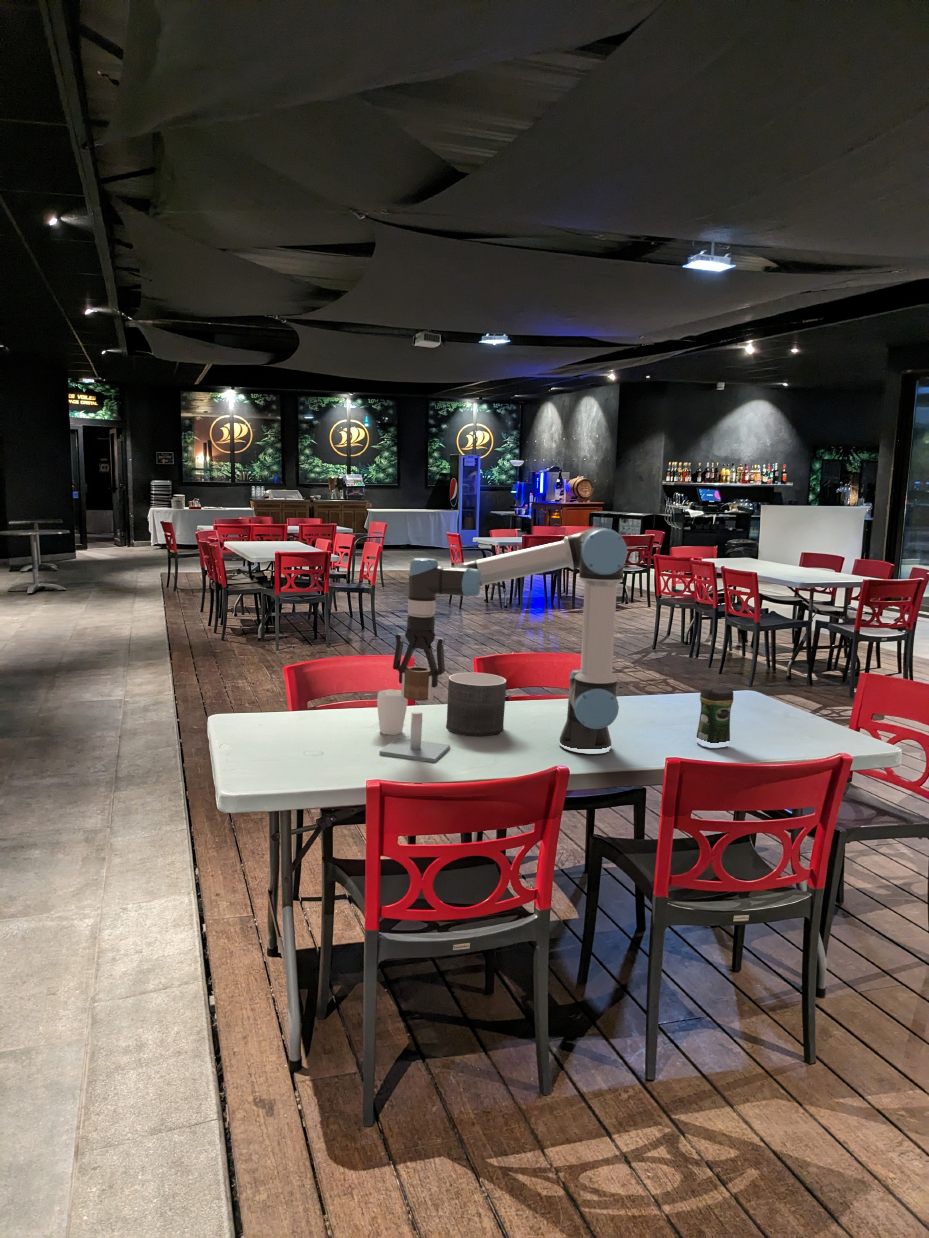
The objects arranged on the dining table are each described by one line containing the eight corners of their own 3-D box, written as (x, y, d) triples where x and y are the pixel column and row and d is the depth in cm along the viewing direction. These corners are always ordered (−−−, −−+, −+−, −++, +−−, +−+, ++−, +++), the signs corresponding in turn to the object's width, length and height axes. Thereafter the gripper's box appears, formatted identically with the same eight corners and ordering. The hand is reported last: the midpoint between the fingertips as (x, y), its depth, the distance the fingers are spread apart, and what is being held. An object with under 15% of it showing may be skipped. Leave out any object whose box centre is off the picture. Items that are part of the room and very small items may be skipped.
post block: (450, 748, 243) (451, 710, 241) (434, 762, 230) (436, 722, 228) (397, 740, 247) (398, 704, 246) (379, 754, 234) (380, 715, 232)
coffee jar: (717, 740, 264) (723, 682, 262) (733, 748, 257) (739, 688, 254) (690, 742, 261) (696, 683, 258) (706, 750, 254) (712, 689, 251)
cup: (401, 737, 251) (403, 697, 249) (372, 734, 253) (373, 694, 251) (409, 729, 260) (411, 690, 258) (381, 726, 262) (382, 688, 260)
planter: (437, 731, 260) (439, 680, 257) (459, 717, 276) (461, 670, 274) (491, 740, 253) (494, 688, 251) (511, 725, 270) (514, 677, 267)
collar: (433, 696, 239) (434, 668, 237) (425, 701, 232) (426, 673, 231) (409, 693, 241) (411, 665, 239) (401, 698, 234) (402, 670, 233)
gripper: (460, 616, 234) (455, 698, 237) (392, 609, 239) (388, 689, 242) (452, 620, 226) (447, 704, 230) (382, 613, 232) (378, 695, 235)
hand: (417, 696), depth 236 cm, fingers closed on collar, 7 cm apart
